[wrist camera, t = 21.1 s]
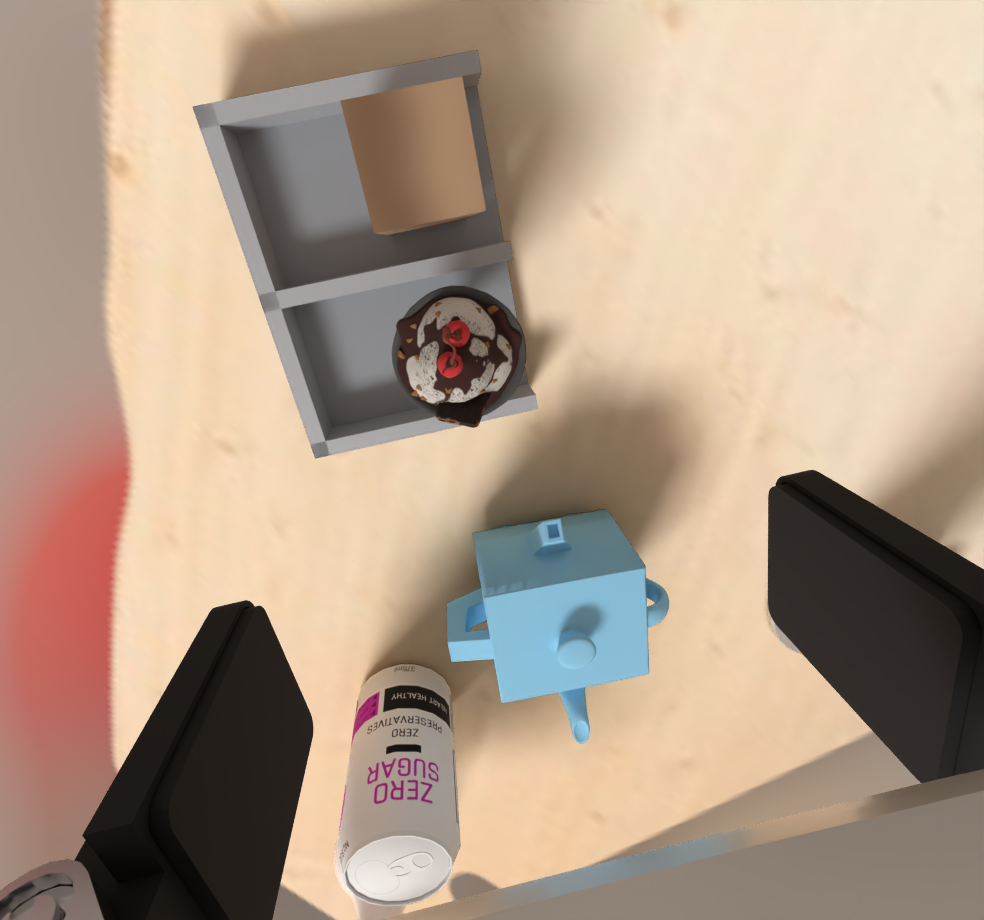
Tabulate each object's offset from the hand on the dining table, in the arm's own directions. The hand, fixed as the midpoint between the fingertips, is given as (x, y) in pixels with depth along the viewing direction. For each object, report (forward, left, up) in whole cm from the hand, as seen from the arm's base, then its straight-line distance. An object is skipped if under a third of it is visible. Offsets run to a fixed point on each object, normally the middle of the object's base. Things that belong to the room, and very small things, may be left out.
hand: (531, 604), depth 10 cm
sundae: (0, -1, -29) cm, 29 cm away
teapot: (-3, +20, -31) cm, 37 cm away
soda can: (+11, +30, -31) cm, 44 cm away
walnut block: (0, -9, -29) cm, 31 cm away
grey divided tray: (+3, -5, -30) cm, 31 cm away
